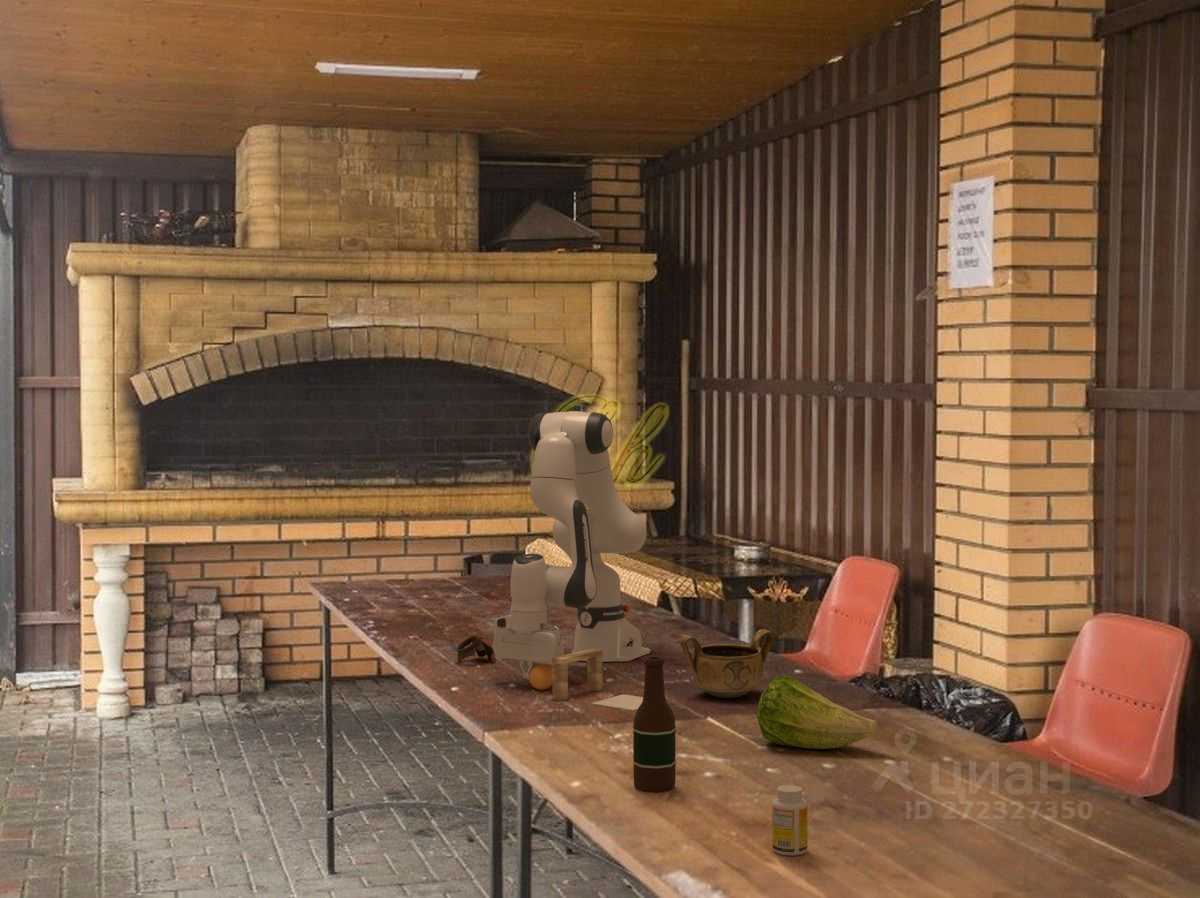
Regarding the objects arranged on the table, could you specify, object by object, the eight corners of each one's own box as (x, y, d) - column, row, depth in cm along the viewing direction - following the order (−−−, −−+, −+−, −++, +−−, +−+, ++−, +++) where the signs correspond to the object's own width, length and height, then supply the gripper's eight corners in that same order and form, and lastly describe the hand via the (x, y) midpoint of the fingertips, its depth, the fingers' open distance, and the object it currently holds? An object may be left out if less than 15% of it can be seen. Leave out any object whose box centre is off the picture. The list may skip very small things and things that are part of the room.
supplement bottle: (801, 845, 255) (801, 782, 254) (812, 855, 249) (812, 791, 249) (767, 847, 254) (768, 784, 253) (777, 858, 248) (778, 793, 248)
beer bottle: (631, 782, 294) (630, 654, 293) (672, 781, 295) (672, 653, 294) (635, 793, 286) (635, 662, 285) (678, 792, 287) (678, 661, 286)
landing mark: (623, 695, 372) (623, 694, 372) (664, 701, 364) (664, 700, 364) (591, 703, 362) (591, 703, 362) (633, 710, 355) (633, 709, 355)
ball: (538, 681, 384) (542, 658, 382) (557, 690, 380) (561, 667, 379) (522, 686, 379) (526, 663, 377) (541, 696, 376) (545, 672, 374)
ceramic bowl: (757, 686, 382) (757, 624, 381) (786, 700, 365) (786, 635, 365) (670, 692, 375) (670, 629, 375) (695, 706, 359) (695, 641, 358)
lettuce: (889, 752, 320) (860, 775, 308) (780, 729, 333) (747, 750, 320) (892, 683, 318) (863, 704, 305) (782, 663, 330) (749, 681, 318)
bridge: (552, 699, 368) (552, 657, 367) (592, 688, 380) (592, 648, 379) (562, 700, 366) (562, 659, 365) (602, 690, 378) (602, 649, 377)
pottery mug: (497, 667, 409) (481, 642, 407) (465, 682, 411) (449, 657, 409) (502, 648, 421) (486, 622, 419) (471, 662, 423) (456, 637, 421)
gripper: (569, 624, 376) (569, 682, 377) (507, 616, 389) (506, 672, 390) (552, 627, 372) (552, 686, 372) (489, 619, 385) (489, 675, 385)
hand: (528, 679), depth 381 cm, fingers closed
